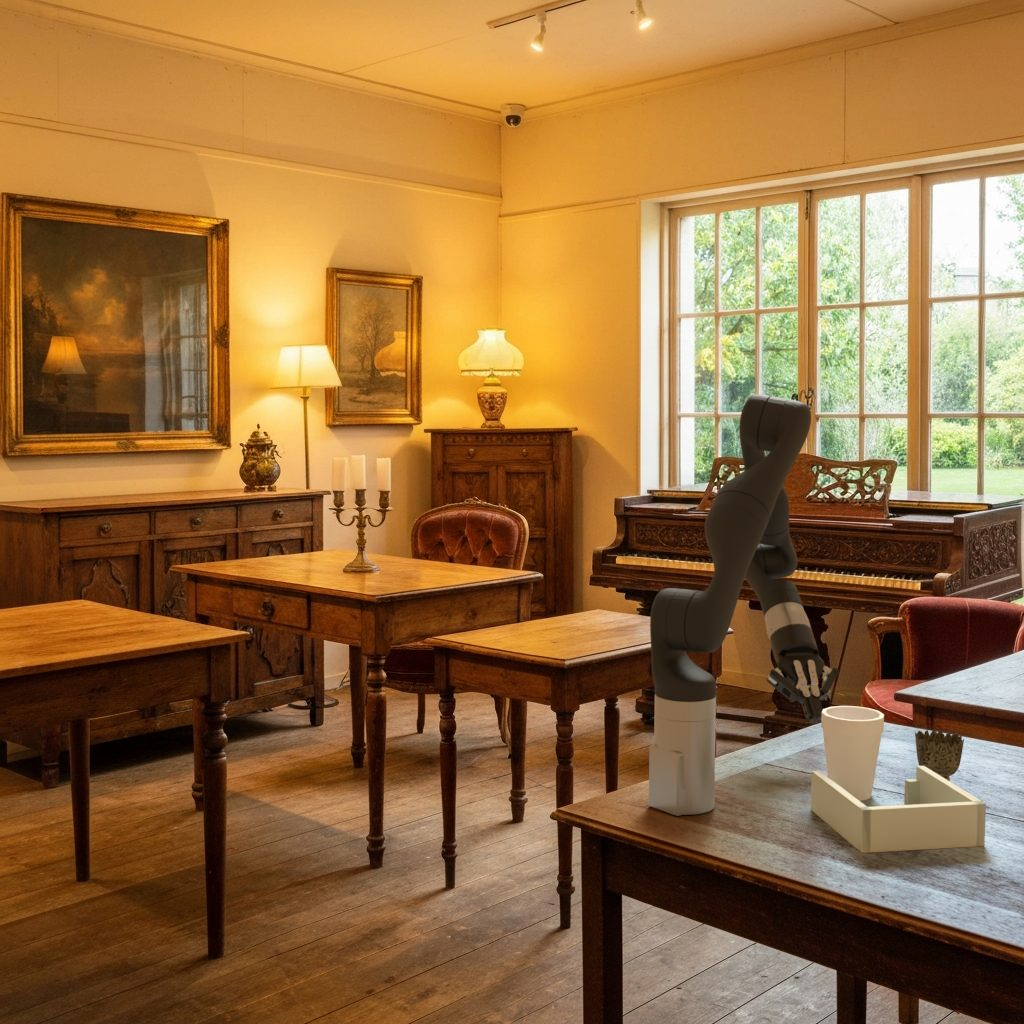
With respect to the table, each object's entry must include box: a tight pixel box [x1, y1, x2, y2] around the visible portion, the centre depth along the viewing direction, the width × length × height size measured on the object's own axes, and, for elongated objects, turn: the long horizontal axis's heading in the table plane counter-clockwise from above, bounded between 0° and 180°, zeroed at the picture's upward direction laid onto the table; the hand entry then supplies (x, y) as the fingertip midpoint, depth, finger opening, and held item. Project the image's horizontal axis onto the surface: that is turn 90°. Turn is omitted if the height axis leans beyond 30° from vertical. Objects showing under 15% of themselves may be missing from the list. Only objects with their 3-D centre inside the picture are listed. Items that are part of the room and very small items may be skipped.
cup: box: [914, 729, 965, 782], centre depth 198 cm, size 8×7×8 cm
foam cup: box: [820, 705, 885, 802], centre depth 192 cm, size 10×9×13 cm
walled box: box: [810, 765, 987, 854], centre depth 178 cm, size 18×18×6 cm
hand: (816, 719), depth 206 cm, fingers closed
